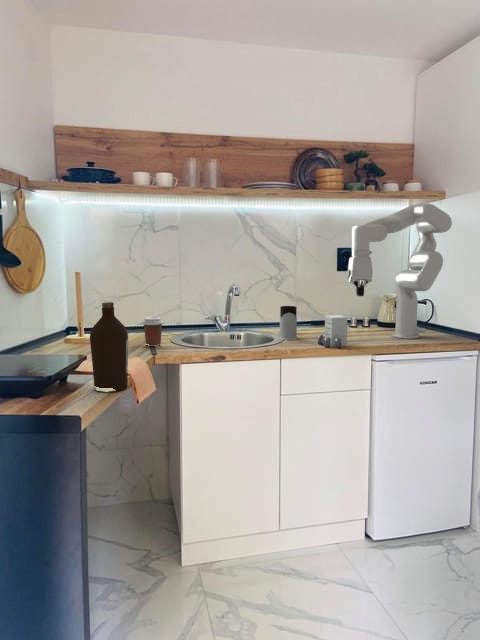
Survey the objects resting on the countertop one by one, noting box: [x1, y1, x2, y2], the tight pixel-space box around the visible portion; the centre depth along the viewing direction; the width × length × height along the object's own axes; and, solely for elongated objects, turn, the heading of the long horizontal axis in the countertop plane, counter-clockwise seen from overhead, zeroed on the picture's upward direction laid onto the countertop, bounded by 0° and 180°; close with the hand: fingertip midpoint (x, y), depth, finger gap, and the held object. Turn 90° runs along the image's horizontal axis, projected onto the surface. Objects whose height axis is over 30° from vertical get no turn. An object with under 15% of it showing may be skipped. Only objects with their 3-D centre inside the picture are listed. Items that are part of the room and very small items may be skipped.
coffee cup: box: [141, 316, 164, 347], centre depth 202 cm, size 9×9×12 cm
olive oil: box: [89, 301, 129, 393], centre depth 134 cm, size 11×11×25 cm
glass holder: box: [279, 305, 298, 341], centre depth 221 cm, size 9×14×15 cm, turn 179°
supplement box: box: [324, 314, 348, 348], centre depth 201 cm, size 7×7×13 cm
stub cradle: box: [317, 333, 342, 350], centre depth 201 cm, size 6×15×4 cm, turn 13°
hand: (360, 295), depth 206 cm, fingers closed
